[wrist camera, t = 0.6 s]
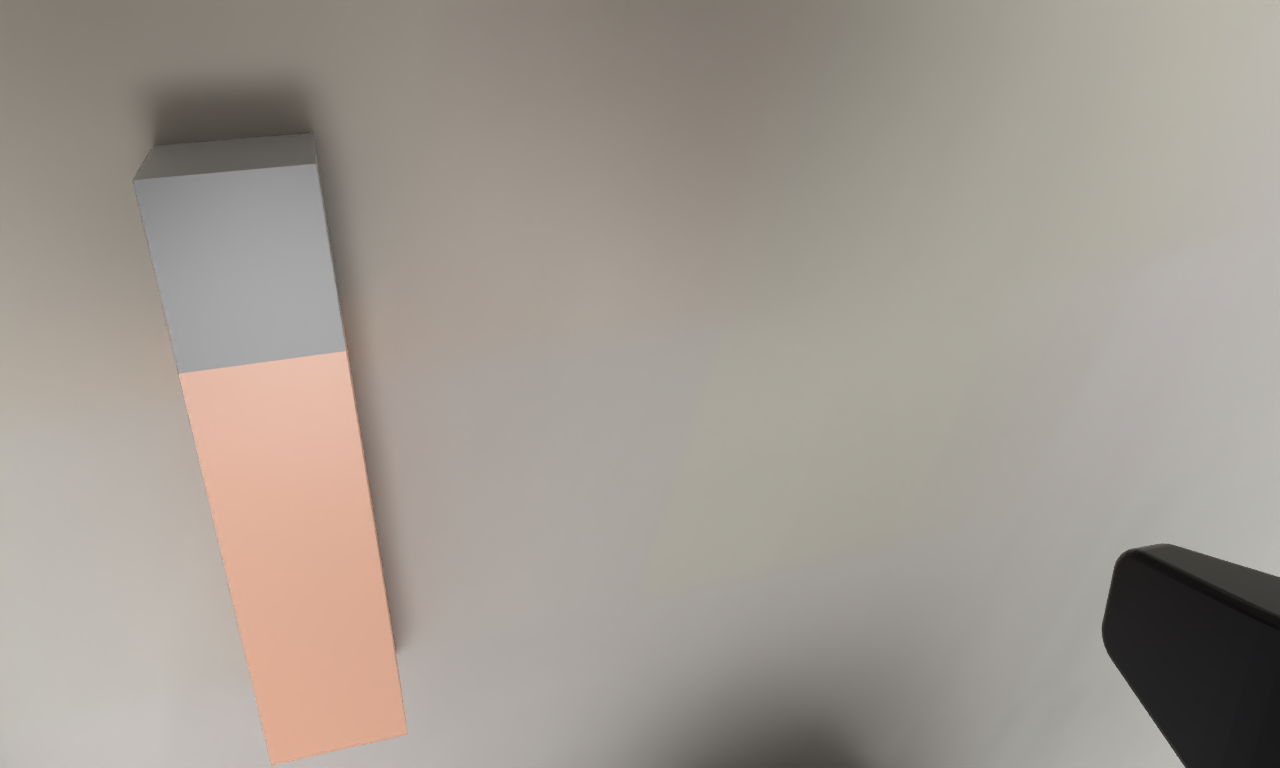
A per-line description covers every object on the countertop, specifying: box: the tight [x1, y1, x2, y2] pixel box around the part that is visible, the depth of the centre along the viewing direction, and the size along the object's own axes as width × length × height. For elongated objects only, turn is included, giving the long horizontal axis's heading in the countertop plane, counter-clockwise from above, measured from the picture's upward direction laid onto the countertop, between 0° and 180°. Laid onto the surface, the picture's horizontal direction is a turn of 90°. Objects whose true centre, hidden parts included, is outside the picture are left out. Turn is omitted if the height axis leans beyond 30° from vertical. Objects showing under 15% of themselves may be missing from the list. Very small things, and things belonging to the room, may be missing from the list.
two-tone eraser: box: [133, 132, 407, 765], centre depth 18 cm, size 11×2×2 cm, turn 1°
